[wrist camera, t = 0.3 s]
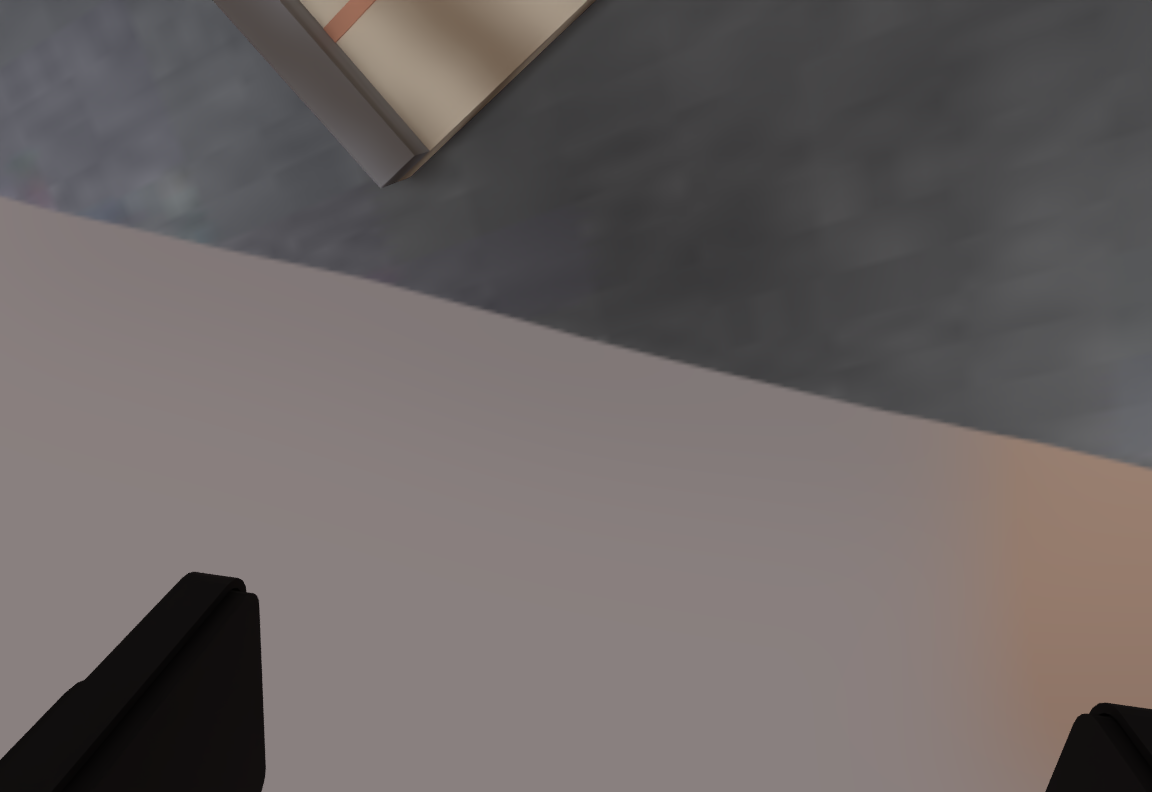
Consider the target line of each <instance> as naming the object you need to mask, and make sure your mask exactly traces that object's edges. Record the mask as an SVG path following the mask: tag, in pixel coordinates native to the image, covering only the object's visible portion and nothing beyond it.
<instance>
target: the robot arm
mask: <svg viewBox="0 0 1152 792" xmlns="http://www.w3.org/2000/svg"><path fill="white" fill-rule="evenodd" d="M260 639H261V638H260V615H259V600H258V598H257V596H256V595H255V594H254V593H247V592H246V586H245V584H244V582H243V580H241V579H239V578H234V577H226V576H219V575H213V574H205V573H199V572H191V573H188V574H187V575H185V576H184V577H183V578H182V579H181V580H180V581H179V582H178V583H177V584H176V585H175V586H174V587H173V588H172V589H171V590H170V591H169V592H168V593H167V594H166V595H165V596H164V598H163V599H162V600H161V601H160V602H159V603H158V604H157V605H156V606H155V607H154V608H153V609H152V610H151V611H150V612H149V613H148V614H147V615H146V616H145V617H144V618H143V620H142V621H141V622H140V623H139V624H138V625H137V626H136V627H135V628H134V629H133V630H132V631H131V632H130V633H129V634H128V635H127V636H126V637H125V638H124V640H122V641H121V643H120V644H119V645H118V646H117V647H116V648H115V649H114V650H113V651H112V652H111V653H110V654H109V655H108V656H107V657H106V658H105V659H104V660H103V661H102V662H101V664H100V665H98V667H97V668H96V669H95V670H94V671H93V672H92V673H91V674H90V675H89V676H88V677H87V678H86V679H85V680H84V681H81V682H78V683H77V684H75V685H74V686H73V687H72V688H71V689H69V691H67V692H66V693H65V694H64V695H63V696H62V697H61V698H60V699H59V700H58V701H57V702H56V703H55V704H54V705H53V706H52V707H51V708H50V709H49V710H48V711H47V712H46V713H45V714H44V715H43V716H42V717H41V718H40V719H39V720H38V721H37V723H36V724H35V725H34V726H33V727H32V728H31V729H30V730H29V731H28V732H27V733H26V734H25V735H24V736H23V737H22V738H21V739H20V740H19V741H18V742H17V743H16V744H15V745H14V746H13V747H12V748H11V749H10V750H9V751H8V752H7V754H6V755H5V756H4V757H3V758H2V759H1V760H0V792H261V791H262V787H263V784H264V779H265V769H266V765H265V741H264V740H265V739H264V715H263V714H264V713H263V690H262V689H263V688H262V664H261V641H260ZM1046 792H1152V709H1146V708H1138V707H1132V706H1125V705H1118V704H1111V703H1099V704H1097V705H1096V706H1095V707H1094V708H1092V710H1091V711H1090V713H1089V714H1081V715H1080V716H1079V717H1077V719H1076V720H1075V722H1074V724H1073V726H1072V729H1071V731H1070V733H1069V736H1068V739H1067V741H1066V743H1065V746H1064V748H1063V750H1062V753H1061V755H1060V758H1059V760H1058V763H1057V765H1056V767H1055V770H1054V772H1053V775H1052V777H1051V779H1050V782H1049V784H1048V787H1047V789H1046Z"/></svg>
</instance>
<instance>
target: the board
mask: <svg viewBox="0 0 1152 792" xmlns="http://www.w3.org/2000/svg"><path fill="white" fill-rule="evenodd" d="M213 1H214V2H215V3H216V5H217V6H218V7H219V8H220V9H221V10H222V11H223V12H224V14H225V15H226V16H227V17H228V18H229V19H230V20H231V21H232V23H233V24H234V25H235V26H236V27H237V28H238V29H239V30H240V32H241V33H242V34H243V35H244V36H245V37H246V38H247V39H248V40H249V42H250V43H251V44H252V45H253V46H254V47H255V48H256V49H257V51H258V52H259V53H260V54H261V55H262V56H263V57H264V58H265V60H266V61H267V62H268V63H269V64H270V65H271V66H272V67H273V68H274V70H275V71H276V72H277V73H278V74H279V75H280V76H281V77H282V79H283V80H284V81H285V82H286V83H287V84H288V85H289V86H290V88H291V89H292V90H293V91H294V92H295V93H296V94H297V95H298V96H299V98H300V99H301V100H302V101H303V102H304V103H305V104H306V105H307V107H308V108H309V109H310V110H311V111H312V112H313V113H314V114H315V116H316V117H317V118H318V119H319V120H320V121H321V122H322V123H323V125H324V126H325V127H326V128H327V129H328V130H329V131H330V132H331V133H332V135H333V136H334V137H335V138H336V139H337V140H338V141H339V142H340V144H341V145H342V146H343V147H344V148H345V149H346V150H347V151H348V153H349V154H350V155H351V156H352V157H353V158H354V159H355V160H356V161H357V163H358V164H359V165H360V166H361V167H362V168H363V169H364V170H365V172H366V173H367V174H368V175H369V176H370V177H371V178H372V179H373V181H374V182H375V183H376V184H377V185H378V186H379V187H380V188H383V187H385V186H388V185H391V184H393V183H396V182H399V181H401V180H404V179H406V178H409V177H411V176H412V175H413V174H414V173H415V172H416V171H417V170H418V169H419V168H420V167H421V166H422V165H423V164H424V163H425V162H427V161H428V160H429V159H430V158H431V157H432V156H433V155H434V154H435V153H436V152H437V151H438V150H439V149H440V148H441V147H442V146H443V145H444V144H445V143H446V142H448V141H449V140H450V139H451V138H452V137H453V136H454V135H455V134H456V133H457V132H458V131H459V130H460V129H461V128H462V127H463V126H464V125H465V124H466V123H467V122H469V121H470V120H471V119H472V118H473V117H474V116H475V115H476V114H477V113H478V112H479V111H480V110H481V109H482V108H483V107H484V106H485V105H486V104H487V103H488V102H490V101H491V100H492V99H493V98H494V97H495V96H496V95H497V94H498V93H499V92H500V91H501V90H502V89H503V88H504V87H505V86H506V85H507V84H508V83H509V82H511V81H512V80H513V79H514V78H515V77H516V76H517V75H518V74H519V73H520V72H521V71H522V70H523V69H524V68H525V67H526V66H527V65H528V64H529V63H530V62H532V61H533V60H534V59H535V58H536V57H537V56H538V55H539V54H540V53H541V52H542V51H543V50H544V49H545V48H546V47H547V46H548V45H549V44H550V43H551V42H553V41H554V40H555V39H556V38H557V37H558V36H559V35H560V34H561V33H562V32H563V31H564V30H565V29H566V28H567V27H568V26H569V25H570V24H571V23H572V22H574V21H575V20H576V19H577V18H578V17H579V16H580V15H581V14H582V13H583V12H584V11H585V10H586V9H587V8H588V7H589V6H590V5H591V4H592V3H594V2H595V1H596V0H213Z"/></svg>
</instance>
